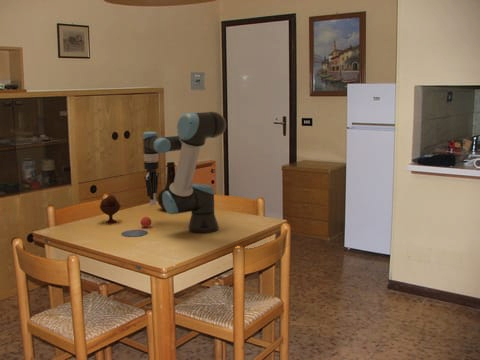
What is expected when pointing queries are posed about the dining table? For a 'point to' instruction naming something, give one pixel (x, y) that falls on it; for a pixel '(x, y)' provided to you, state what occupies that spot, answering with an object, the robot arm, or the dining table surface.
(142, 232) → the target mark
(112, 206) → the ice cream bowl
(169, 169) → the dark brown vase
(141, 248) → the dining table surface
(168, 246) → the dining table surface
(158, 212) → the dining table surface
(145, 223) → the ball
